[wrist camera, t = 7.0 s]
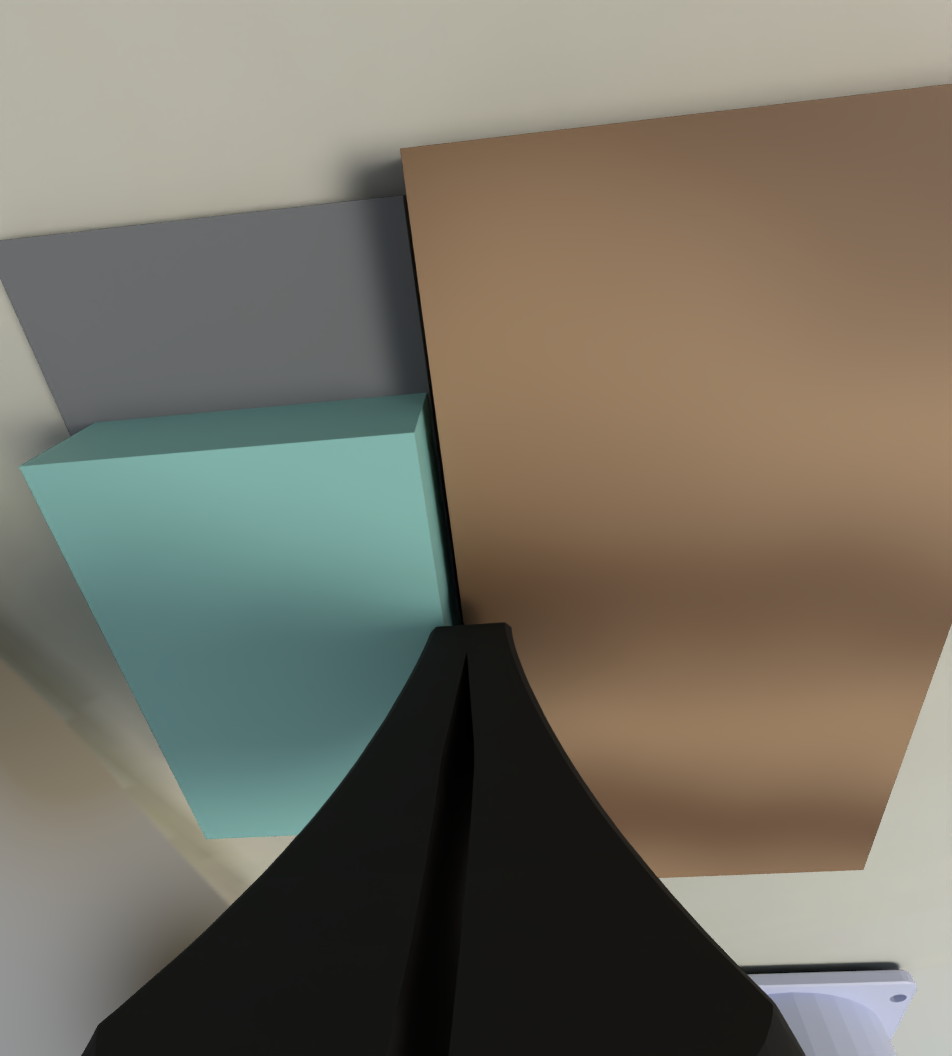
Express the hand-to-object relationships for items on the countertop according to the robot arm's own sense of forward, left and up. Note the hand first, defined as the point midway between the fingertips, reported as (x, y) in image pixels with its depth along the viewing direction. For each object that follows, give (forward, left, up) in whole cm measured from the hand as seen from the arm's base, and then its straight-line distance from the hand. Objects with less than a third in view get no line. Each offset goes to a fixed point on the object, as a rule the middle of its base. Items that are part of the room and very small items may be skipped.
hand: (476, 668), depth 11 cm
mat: (+2, +4, -2) cm, 5 cm away
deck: (0, -4, -2) cm, 5 cm away
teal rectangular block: (0, +3, -2) cm, 4 cm away
